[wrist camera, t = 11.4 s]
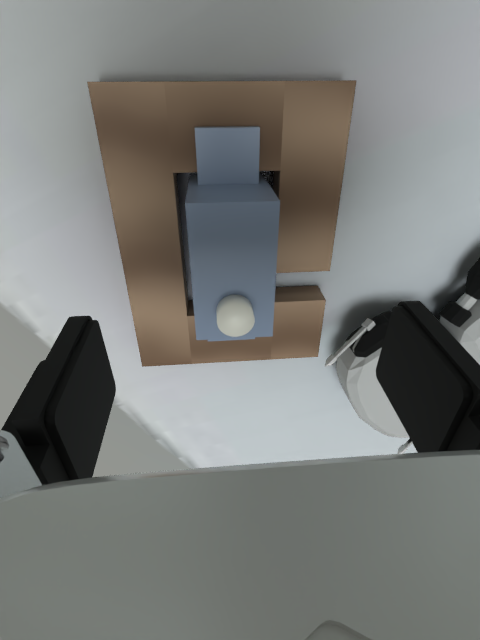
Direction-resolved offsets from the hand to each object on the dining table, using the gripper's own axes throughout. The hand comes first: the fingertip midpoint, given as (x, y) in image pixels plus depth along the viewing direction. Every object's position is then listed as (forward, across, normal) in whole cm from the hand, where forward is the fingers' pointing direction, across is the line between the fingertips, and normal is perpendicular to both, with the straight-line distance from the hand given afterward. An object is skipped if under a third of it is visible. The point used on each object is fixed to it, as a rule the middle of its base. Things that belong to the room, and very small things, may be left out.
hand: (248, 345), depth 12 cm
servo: (+12, 0, +1) cm, 12 cm away
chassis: (+12, 0, +1) cm, 12 cm away
